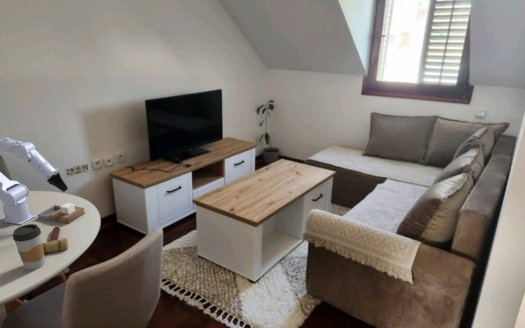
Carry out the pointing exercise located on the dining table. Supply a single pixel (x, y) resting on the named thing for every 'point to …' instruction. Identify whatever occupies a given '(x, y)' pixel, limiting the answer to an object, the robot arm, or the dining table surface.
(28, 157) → the robot arm
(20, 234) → the coffee cup
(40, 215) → the tray
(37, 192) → the dining table surface
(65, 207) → the tile block
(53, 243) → the gavel
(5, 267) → the dining table surface
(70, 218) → the board
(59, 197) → the dining table surface
